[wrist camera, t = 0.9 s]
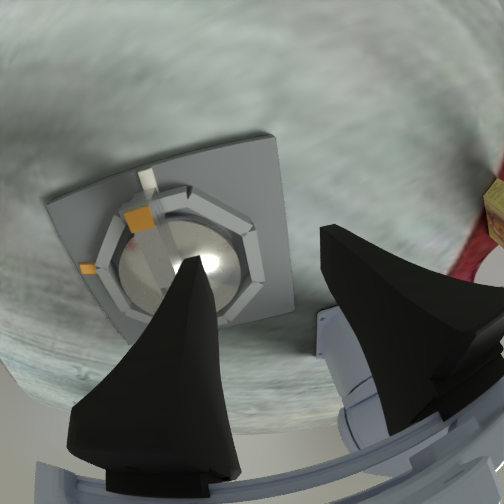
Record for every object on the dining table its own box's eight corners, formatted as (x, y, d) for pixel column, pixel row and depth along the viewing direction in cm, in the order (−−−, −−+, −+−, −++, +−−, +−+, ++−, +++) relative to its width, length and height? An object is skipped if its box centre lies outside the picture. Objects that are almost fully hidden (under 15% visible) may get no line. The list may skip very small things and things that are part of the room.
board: (292, 303, 26) (298, 320, 24) (130, 337, 26) (127, 354, 24) (272, 134, 17) (280, 140, 15) (51, 200, 16) (38, 213, 14)
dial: (247, 296, 23) (256, 334, 20) (149, 317, 23) (145, 354, 19) (216, 164, 17) (220, 187, 13) (91, 201, 16) (67, 232, 13)
